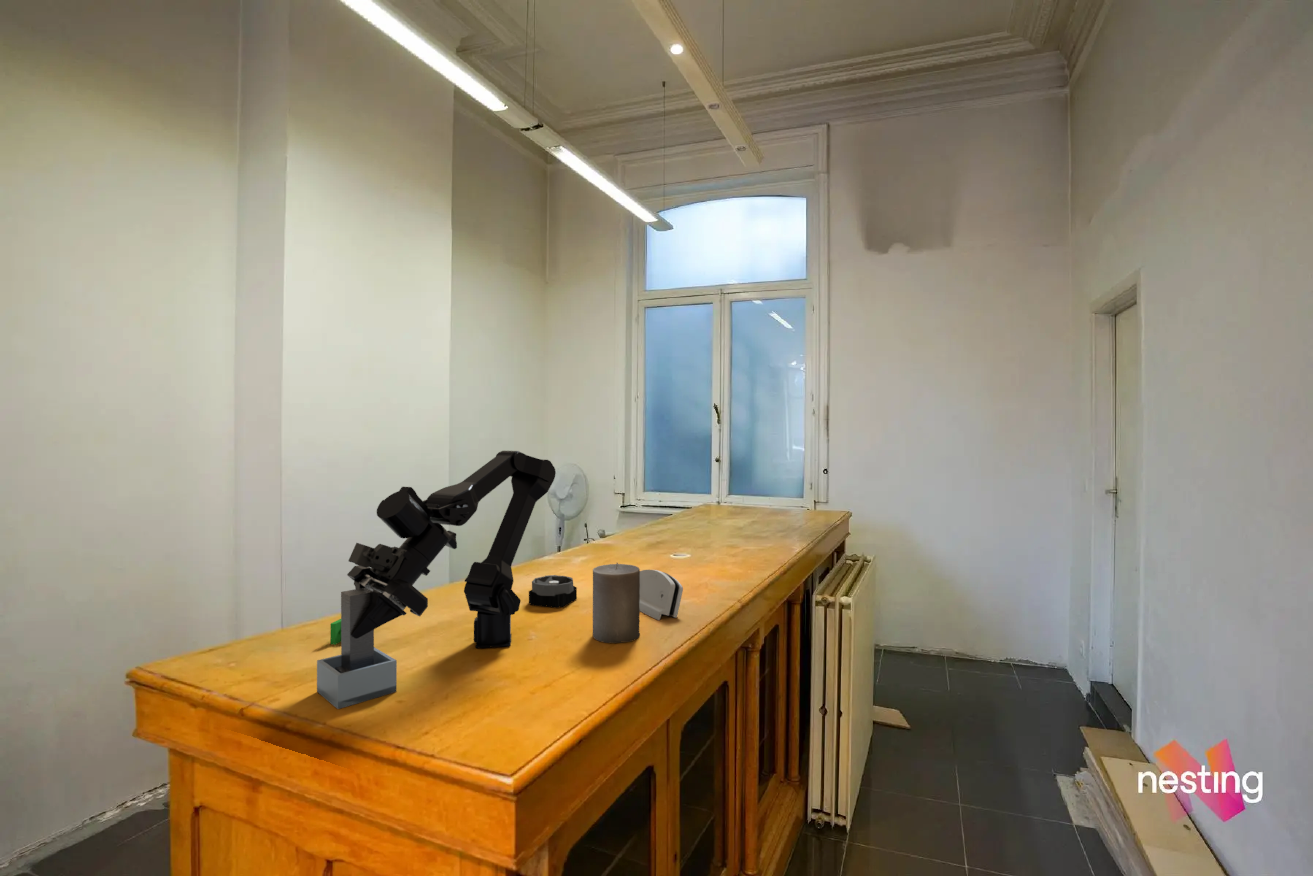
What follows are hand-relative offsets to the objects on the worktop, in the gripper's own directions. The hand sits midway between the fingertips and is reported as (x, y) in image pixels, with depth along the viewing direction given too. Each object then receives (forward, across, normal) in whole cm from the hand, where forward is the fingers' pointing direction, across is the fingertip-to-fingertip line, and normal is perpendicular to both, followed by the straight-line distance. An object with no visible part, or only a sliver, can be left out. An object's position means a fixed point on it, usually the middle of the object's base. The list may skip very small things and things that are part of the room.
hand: (348, 634), depth 99 cm
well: (+6, 0, +8) cm, 9 cm away
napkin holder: (-41, +1, +56) cm, 69 cm away
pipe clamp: (-1, -28, +15) cm, 32 cm away
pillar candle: (-27, +9, +42) cm, 50 cm away
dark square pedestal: (+4, 0, +6) cm, 7 cm away
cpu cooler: (-32, -20, +46) cm, 60 cm away
